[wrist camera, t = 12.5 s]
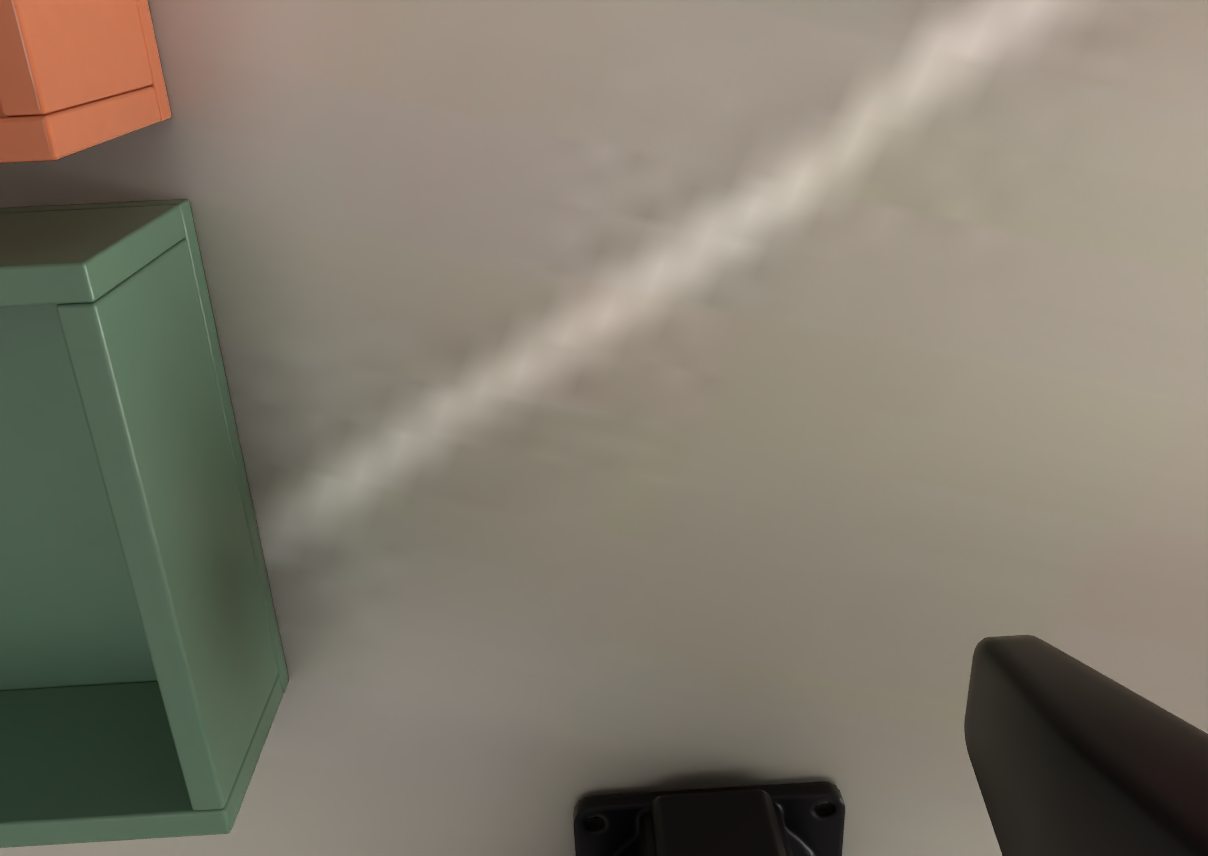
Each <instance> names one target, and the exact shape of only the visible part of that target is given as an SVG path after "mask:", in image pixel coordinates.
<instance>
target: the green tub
mask: <svg viewBox="0 0 1208 856" xmlns="http://www.w3.org/2000/svg"><path fill="white" fill-rule="evenodd" d="M288 681H289V678H288V674H287V669H286V664H285V659H284V654H283V650H282V645H281V640H280V635H279V630H278V626H277V621H276V616H275V611H274V606H273V602H272V597H271V592H270V587H269V582H268V578H267V573H266V568H265V563H264V558H263V554H262V549H261V544H260V539H259V534H258V529H257V525H256V520H255V515H254V510H253V505H252V501H251V496H250V491H249V486H248V481H247V477H246V472H245V467H244V462H243V457H242V453H241V448H240V443H239V438H238V433H237V429H236V424H235V419H234V414H233V409H232V405H231V400H230V395H229V390H228V385H227V381H226V376H225V371H224V366H223V361H222V357H221V352H220V347H219V342H218V337H217V333H216V328H215V323H214V318H213V313H212V309H211V304H210V299H209V294H208V289H207V284H206V280H205V275H204V270H203V265H202V260H201V256H200V251H199V246H198V241H197V236H196V232H195V227H194V222H193V217H192V212H191V208H190V203H189V200H187V199H177V200H157V201H137V202H117V203H97V204H77V205H57V206H37V207H17V208H0V848H5V847H21V846H37V845H53V844H69V843H85V842H101V841H117V840H133V839H148V838H164V837H180V836H196V835H212V834H227V833H230V832H231V830H232V827H233V824H234V822H235V819H236V817H237V814H238V811H239V809H240V806H241V803H242V801H243V798H244V796H245V793H246V790H247V788H248V785H249V783H250V780H251V777H252V775H253V772H254V769H255V767H256V764H257V762H258V759H259V756H260V754H261V751H262V748H263V746H264V743H265V741H266V738H267V735H268V733H269V730H270V728H271V725H272V722H273V720H274V717H275V714H276V712H277V709H278V707H279V704H280V701H281V699H282V696H283V693H284V692H285V689H286V686H287V684H288Z"/></svg>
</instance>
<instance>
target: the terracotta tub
mask: <svg viewBox="0 0 1208 856" xmlns="http://www.w3.org/2000/svg"><path fill="white" fill-rule="evenodd" d="M170 118H171V111H170V106H169V101H168V96H167V92H166V87H165V82H164V77H163V72H162V67H161V63H160V58H159V53H158V48H157V43H156V39H155V34H154V29H153V24H152V19H151V15H150V10H149V5H148V0H0V163H16V162H36V161H55V160H58V159H61V158H63V157H66V156H69V155H72V154H74V153H77V152H80V151H82V150H85V149H88V148H91V147H93V146H96V145H99V144H101V143H104V142H107V141H109V140H112V139H115V138H118V137H120V136H123V135H126V134H128V133H131V132H134V131H136V130H139V129H142V128H145V127H147V126H150V125H153V124H155V123H158V122H162V121H165V120H167V119H170Z"/></svg>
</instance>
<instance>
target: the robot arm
mask: <svg viewBox="0 0 1208 856" xmlns="http://www.w3.org/2000/svg"><path fill="white" fill-rule="evenodd" d="M964 728H965V740H966V746H967V750H968V754H969V757H970V760H971V763H972V766H973V769H974V772H975V775H976V778H977V781H978V784H979V787H980V790H981V793H982V796H983V799H984V802H985V805H986V808H987V811H988V814H989V817H990V820H991V822H992V825H993V828H994V831H995V834H996V837H997V840H998V843H999V846H1000V849H1001V852H1002V855H1003V856H1208V734H1207V733H1205V732H1203V731H1202V730H1200V729H1198V728H1196V727H1195V726H1193V725H1191V724H1189V723H1188V722H1186V721H1184V720H1182V719H1180V718H1179V717H1177V716H1175V715H1173V714H1172V713H1170V712H1168V711H1166V710H1165V709H1163V708H1161V707H1159V706H1158V705H1156V704H1154V703H1152V702H1151V701H1149V700H1147V699H1145V698H1143V697H1142V696H1140V695H1138V694H1136V693H1135V692H1133V691H1131V690H1129V689H1128V688H1126V687H1124V686H1122V685H1121V684H1119V683H1117V682H1115V681H1114V680H1112V679H1110V678H1108V677H1106V676H1105V675H1103V674H1101V673H1099V672H1098V671H1096V670H1094V669H1092V668H1091V667H1089V666H1087V665H1085V664H1084V663H1082V662H1080V661H1078V660H1077V659H1075V658H1073V657H1071V656H1069V655H1068V654H1066V653H1064V652H1062V651H1061V650H1059V649H1057V648H1055V647H1054V646H1052V645H1050V644H1048V643H1047V642H1045V641H1043V640H1041V639H1039V638H1037V637H1035V636H1031V635H1017V636H1001V637H987V638H984V639H983V640H981V641H980V642H979V643H978V644H977V646H976V648H975V651H974V655H973V661H972V668H971V676H970V684H969V691H968V699H967V706H966V714H965V723H964ZM821 802H827V803H826V804H824V805H820V806H819V805H817V804H819V803H821ZM593 816H597V817H601V818H599V819H596V820H592V819H588V818H589V817H593ZM573 817H574V837H575V851H576V856H842V845H843V831H844V817H845V805H844V801H843V798H842V795H841V792H840V790H839V789H838V788H837V786H836V785H834V784H832V783H830V782H807V783H791V784H775V785H759V786H743V787H727V788H711V789H695V790H679V791H663V792H647V793H631V794H615V795H599V796H590V797H586V798H584V799H582V800H580V801H579V802H578V803H577V804H576V806H575V807H574V813H573Z"/></svg>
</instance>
